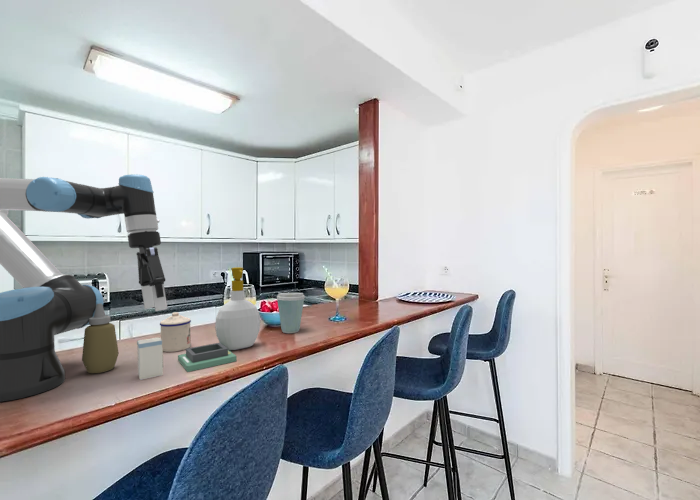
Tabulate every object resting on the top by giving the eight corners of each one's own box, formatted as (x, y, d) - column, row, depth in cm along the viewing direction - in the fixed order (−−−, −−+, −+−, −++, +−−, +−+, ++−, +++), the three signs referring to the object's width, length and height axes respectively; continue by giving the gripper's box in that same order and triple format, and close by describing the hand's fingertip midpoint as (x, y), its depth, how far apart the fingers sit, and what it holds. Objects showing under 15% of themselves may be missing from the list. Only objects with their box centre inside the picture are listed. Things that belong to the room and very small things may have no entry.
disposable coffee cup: (277, 328, 135) (276, 291, 135) (305, 327, 137) (304, 289, 137) (276, 335, 125) (275, 294, 124) (306, 334, 127) (305, 293, 126)
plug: (139, 380, 85) (138, 344, 85) (137, 375, 88) (137, 340, 88) (164, 374, 89) (163, 340, 88) (161, 370, 92) (160, 336, 92)
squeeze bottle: (81, 369, 93) (79, 303, 93) (117, 362, 98) (115, 300, 98) (82, 378, 87) (80, 307, 87) (121, 370, 92) (119, 303, 92)
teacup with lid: (194, 348, 111) (193, 312, 111) (163, 354, 105) (162, 316, 105) (185, 340, 120) (185, 307, 120) (156, 345, 115) (155, 311, 115)
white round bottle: (219, 355, 103) (218, 269, 102) (212, 348, 110) (210, 267, 110) (265, 347, 111) (264, 266, 111) (256, 341, 118) (254, 265, 118)
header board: (187, 372, 90) (187, 358, 90) (178, 360, 100) (177, 348, 100) (236, 361, 98) (236, 348, 98) (223, 351, 108) (223, 340, 107)
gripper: (170, 224, 87) (183, 307, 87) (149, 236, 105) (160, 304, 106) (135, 227, 82) (149, 314, 82) (120, 238, 100) (131, 310, 101)
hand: (155, 309), depth 94 cm, fingers open, 13 cm apart
